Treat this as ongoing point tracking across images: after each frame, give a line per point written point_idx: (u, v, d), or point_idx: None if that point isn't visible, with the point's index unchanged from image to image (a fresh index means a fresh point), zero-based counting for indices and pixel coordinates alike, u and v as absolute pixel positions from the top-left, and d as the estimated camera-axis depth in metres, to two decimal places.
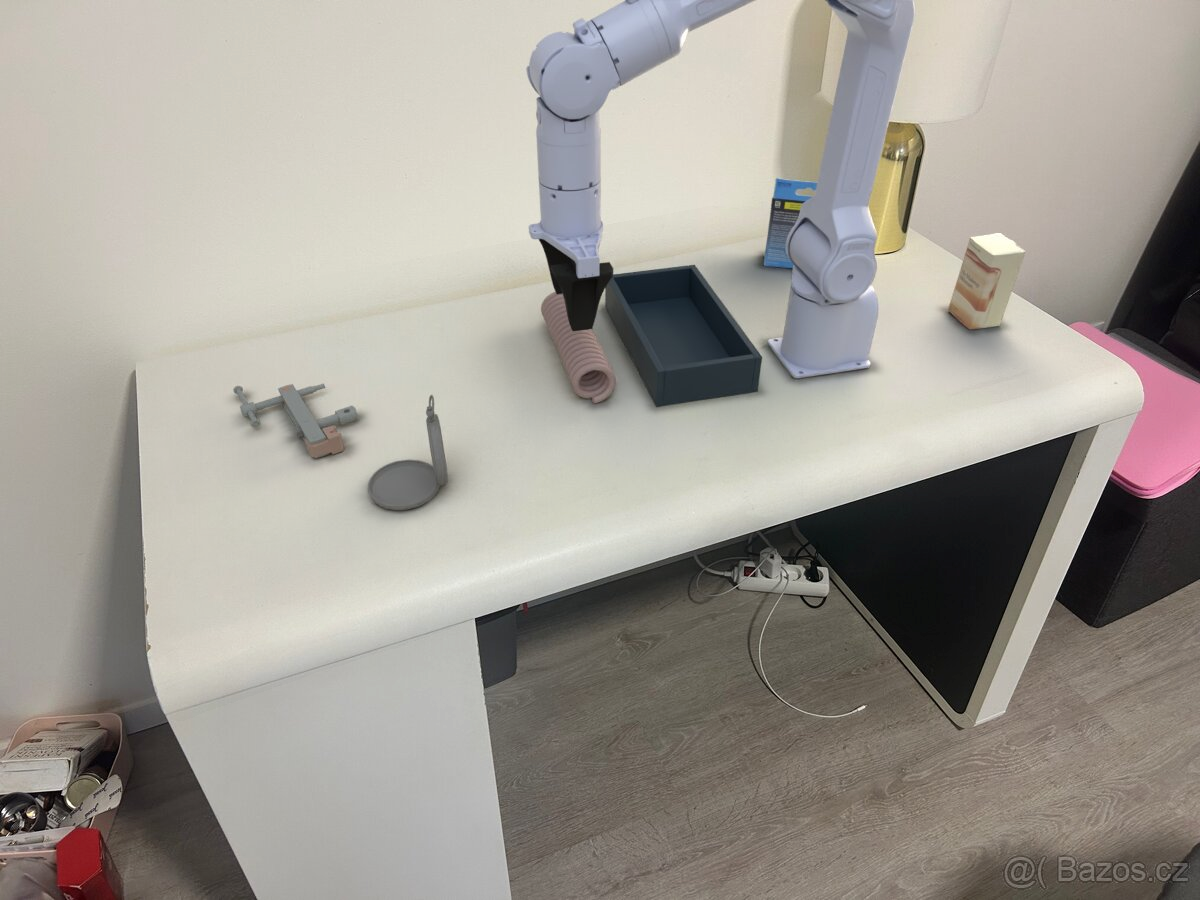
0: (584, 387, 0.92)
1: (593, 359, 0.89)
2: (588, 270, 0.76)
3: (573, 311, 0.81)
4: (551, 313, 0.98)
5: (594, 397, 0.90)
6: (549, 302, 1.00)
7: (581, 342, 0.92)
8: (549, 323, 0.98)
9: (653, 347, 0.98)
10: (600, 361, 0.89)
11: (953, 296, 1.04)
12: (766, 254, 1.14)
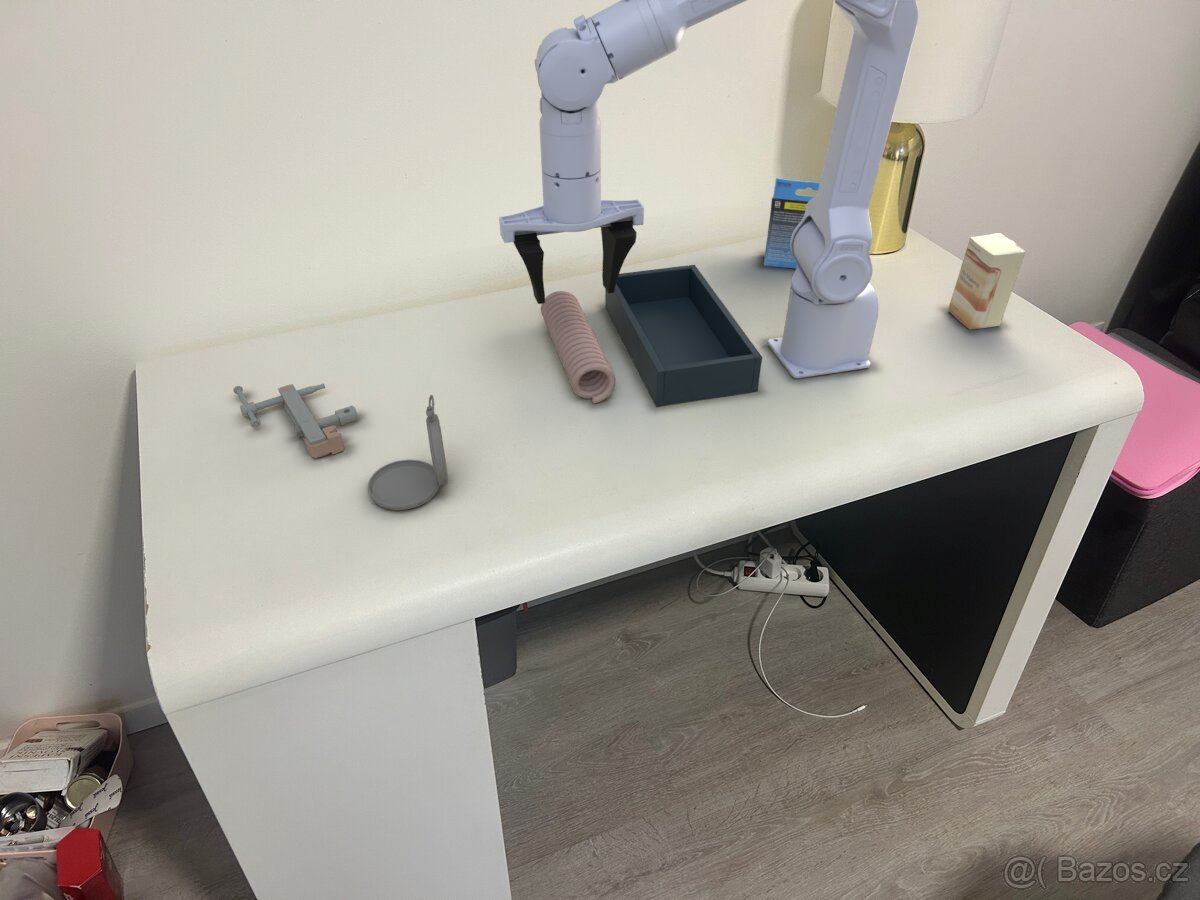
0: (584, 387, 0.92)
1: (593, 359, 0.89)
2: (501, 232, 0.84)
3: (531, 276, 0.88)
4: (550, 313, 0.98)
5: (594, 397, 0.90)
6: (549, 302, 1.00)
7: (581, 342, 0.92)
8: (549, 323, 0.98)
9: (653, 347, 0.98)
10: (600, 361, 0.89)
11: (953, 296, 1.04)
12: (766, 254, 1.14)
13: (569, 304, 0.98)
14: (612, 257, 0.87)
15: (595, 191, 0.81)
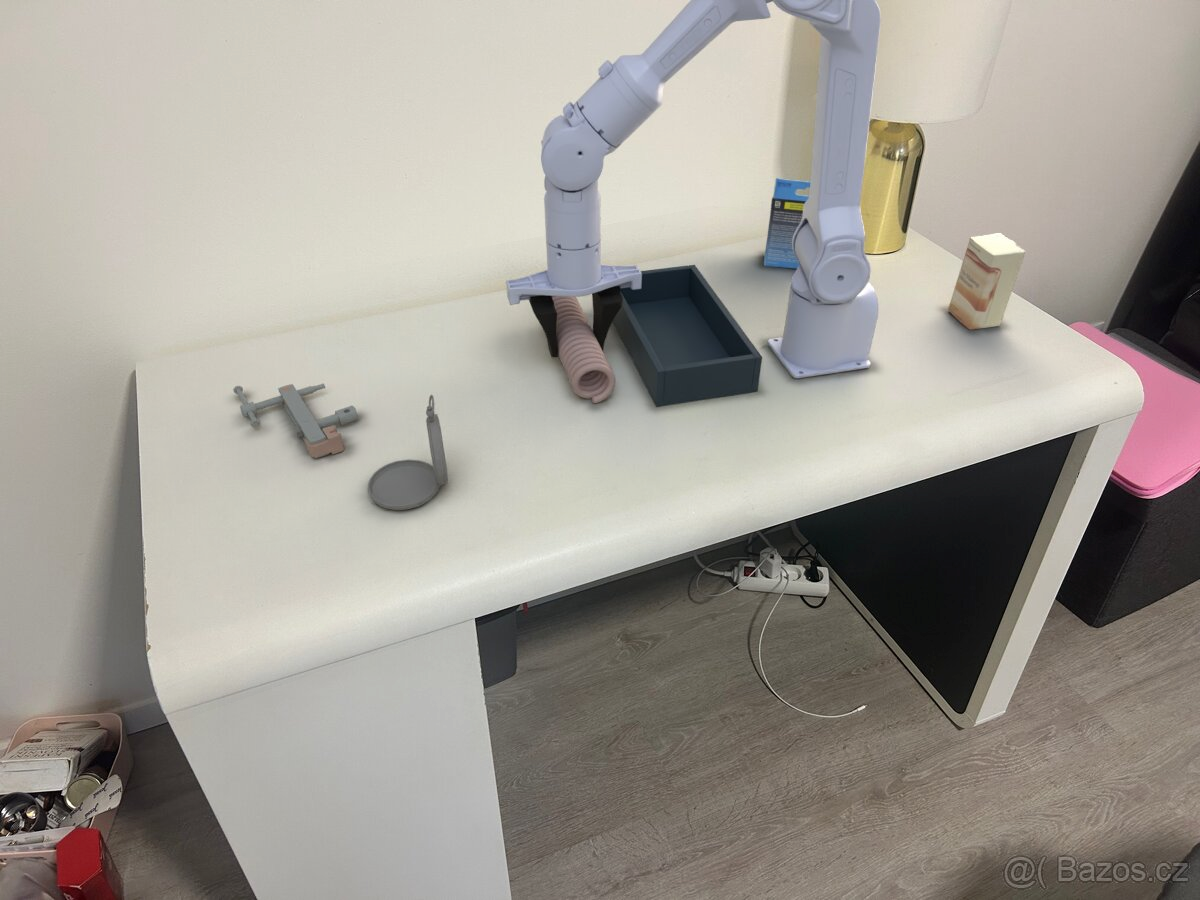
0: (584, 387, 0.92)
1: (593, 359, 0.89)
2: (508, 294, 0.90)
3: None
4: None
5: (594, 397, 0.90)
6: None
7: (581, 342, 0.92)
8: None
9: (653, 347, 0.98)
10: (600, 361, 0.89)
11: (953, 296, 1.04)
12: (766, 254, 1.14)
13: (569, 304, 0.98)
14: (600, 319, 0.93)
15: (594, 260, 0.88)
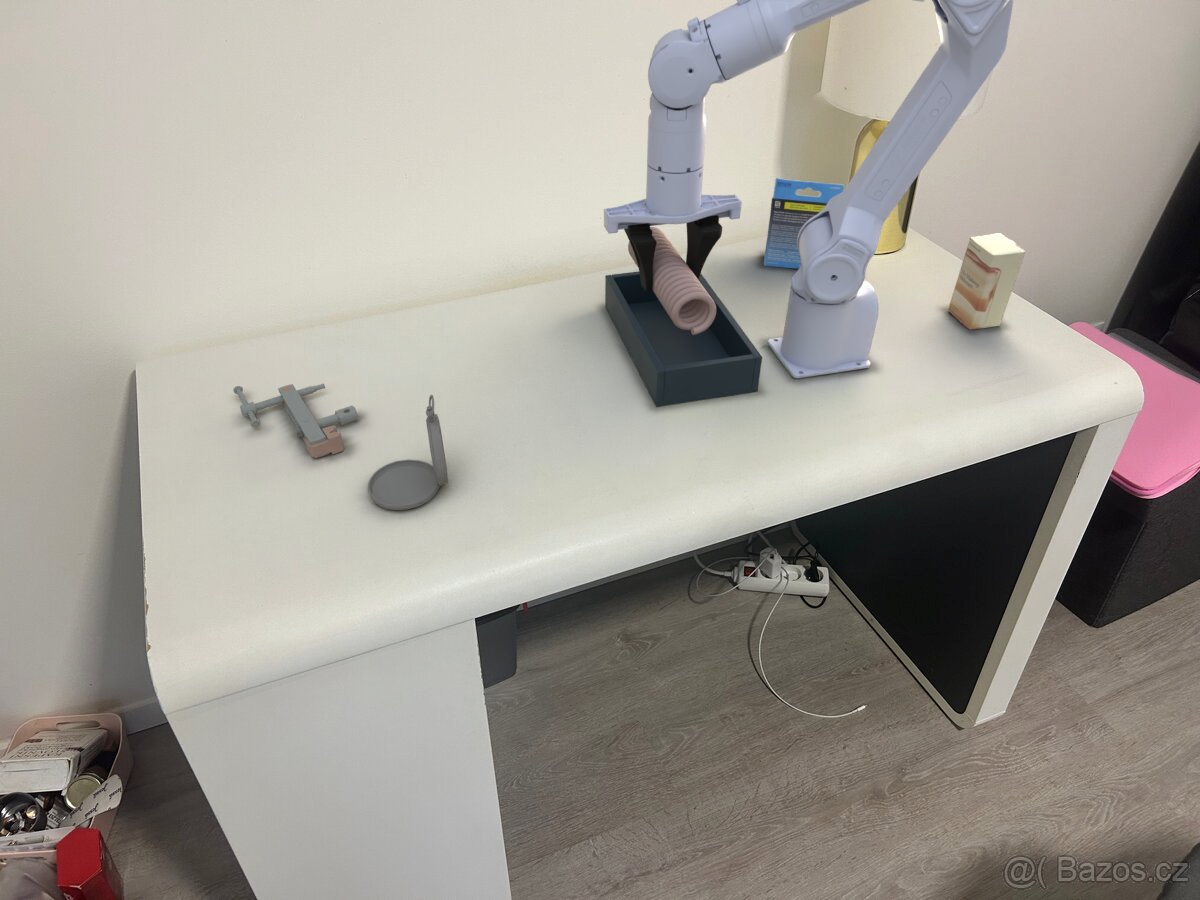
0: (682, 319, 0.89)
1: (694, 288, 0.87)
2: (605, 223, 0.88)
3: (640, 265, 0.93)
4: None
5: (693, 328, 0.88)
6: None
7: (678, 273, 0.90)
8: None
9: (653, 347, 0.98)
10: (701, 290, 0.87)
11: (953, 296, 1.04)
12: (766, 254, 1.14)
13: (660, 238, 0.96)
14: (697, 250, 0.90)
15: (697, 185, 0.85)
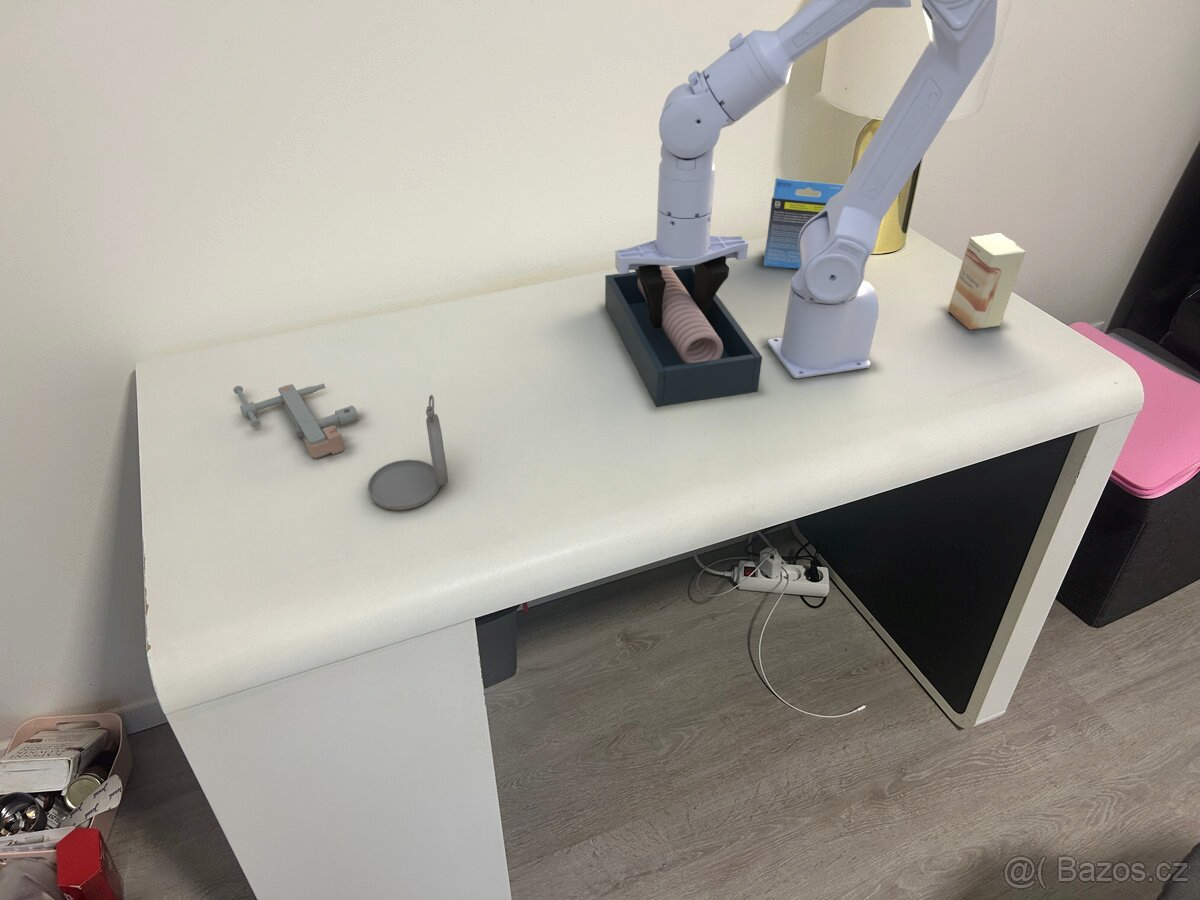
0: (690, 356, 0.92)
1: (702, 327, 0.90)
2: (617, 264, 0.91)
3: (649, 302, 0.96)
4: None
5: None
6: None
7: (687, 312, 0.93)
8: None
9: (653, 347, 0.98)
10: (709, 330, 0.90)
11: (953, 296, 1.04)
12: (766, 254, 1.14)
13: (669, 276, 0.99)
14: (705, 290, 0.94)
15: (706, 229, 0.88)
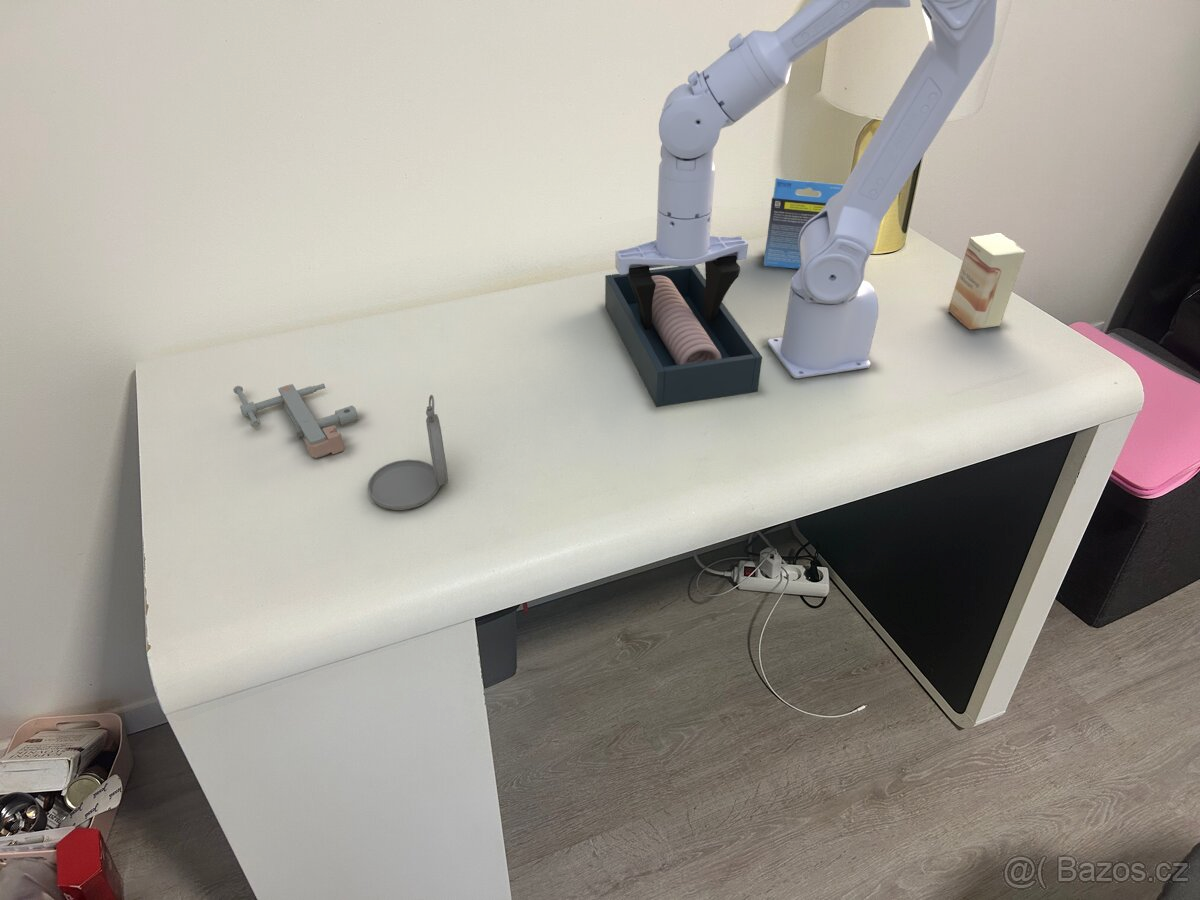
0: None
1: (701, 340, 0.91)
2: (617, 264, 0.91)
3: (639, 304, 0.96)
4: None
5: None
6: None
7: (686, 324, 0.94)
8: None
9: (653, 347, 0.98)
10: (707, 342, 0.91)
11: (953, 296, 1.04)
12: (766, 254, 1.14)
13: (668, 288, 1.00)
14: (716, 289, 0.94)
15: (706, 230, 0.88)
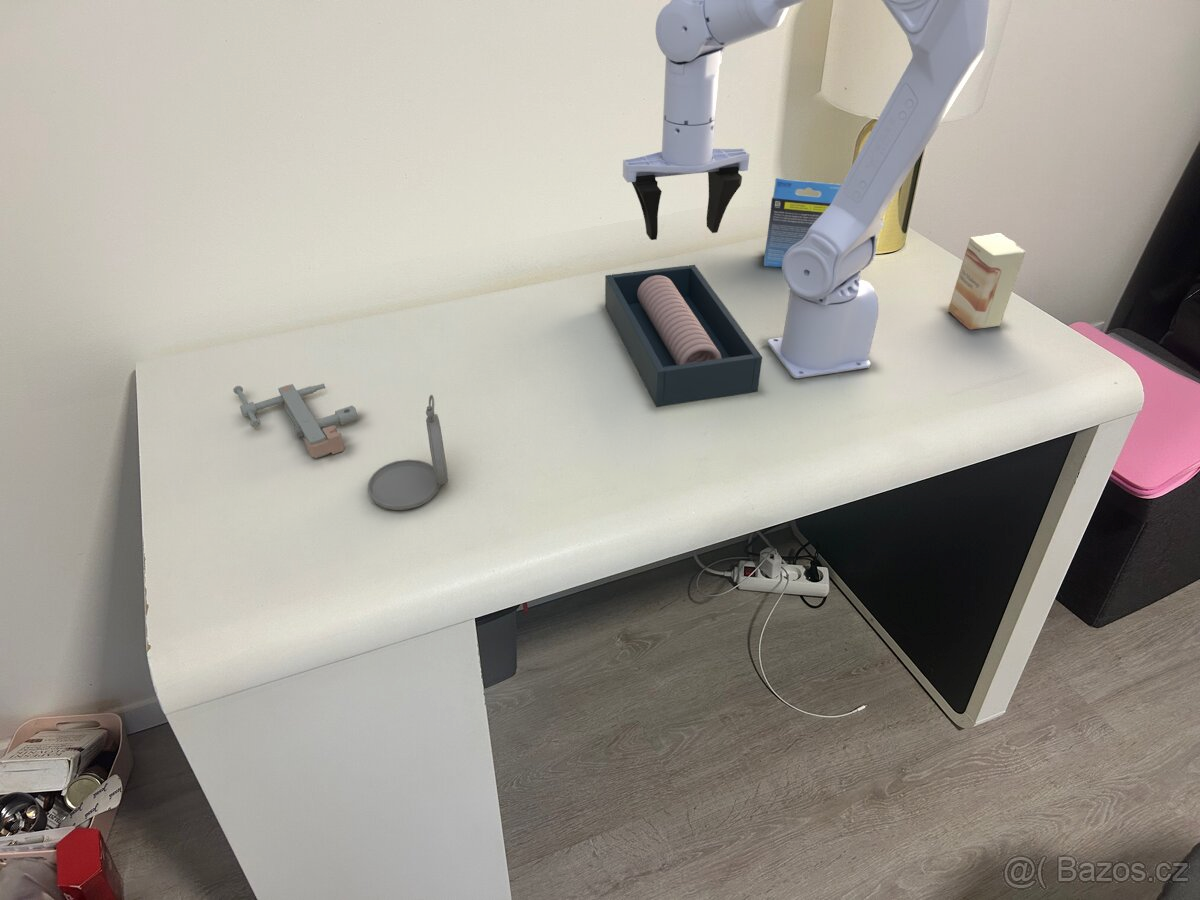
0: None
1: (701, 340, 0.91)
2: (624, 173, 0.95)
3: (645, 215, 1.00)
4: (650, 297, 1.00)
5: None
6: (647, 286, 1.02)
7: (686, 324, 0.94)
8: (648, 306, 1.00)
9: (653, 347, 0.98)
10: (707, 342, 0.91)
11: (953, 296, 1.04)
12: (766, 254, 1.14)
13: (668, 288, 1.00)
14: (719, 199, 0.98)
15: (709, 137, 0.93)
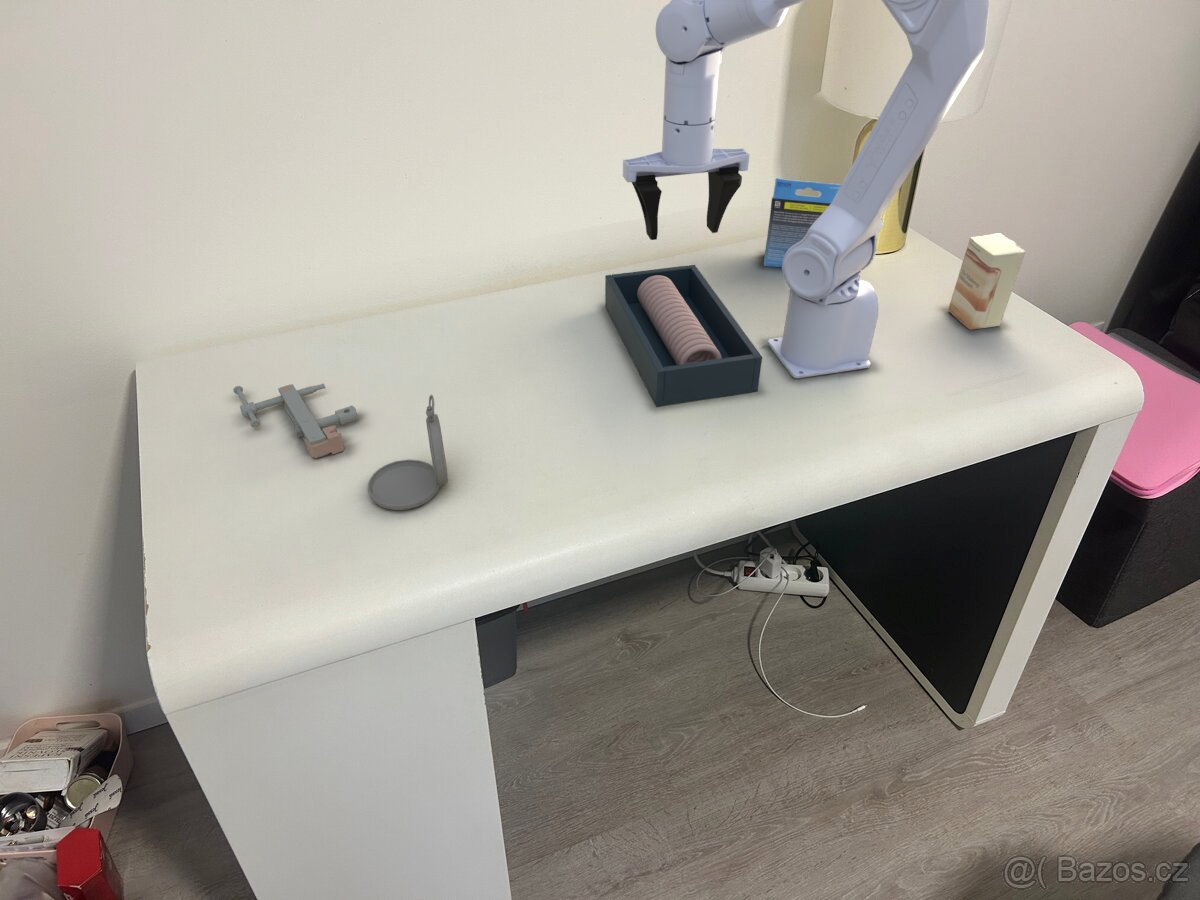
0: None
1: (701, 340, 0.91)
2: (624, 173, 0.95)
3: (645, 215, 1.00)
4: (650, 297, 1.00)
5: None
6: (647, 286, 1.02)
7: (686, 324, 0.94)
8: (648, 306, 1.00)
9: (653, 347, 0.98)
10: (707, 342, 0.91)
11: (953, 296, 1.04)
12: (766, 254, 1.14)
13: (668, 288, 1.00)
14: (719, 199, 0.98)
15: (709, 137, 0.93)
